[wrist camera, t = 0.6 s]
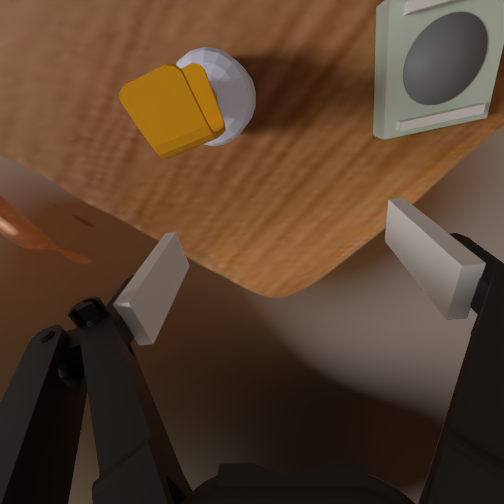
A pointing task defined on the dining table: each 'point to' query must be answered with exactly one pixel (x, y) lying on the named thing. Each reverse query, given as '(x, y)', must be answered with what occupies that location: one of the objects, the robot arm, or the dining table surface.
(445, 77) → the pale green ridged block
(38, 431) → the robot arm
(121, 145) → the dining table surface
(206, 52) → the soap bottle
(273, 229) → the dining table surface
